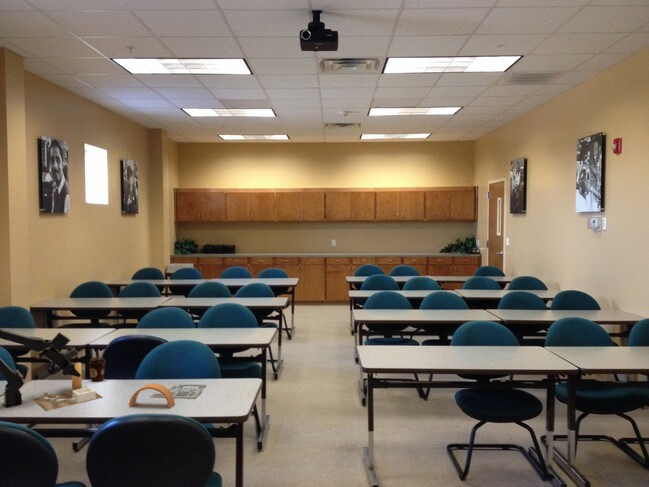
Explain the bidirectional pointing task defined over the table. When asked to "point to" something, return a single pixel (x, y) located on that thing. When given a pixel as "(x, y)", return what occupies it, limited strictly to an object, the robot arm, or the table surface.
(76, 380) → the tan cylinder
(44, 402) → the cable board
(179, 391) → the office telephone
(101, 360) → the coffee cup
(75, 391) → the end holder
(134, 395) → the arch
